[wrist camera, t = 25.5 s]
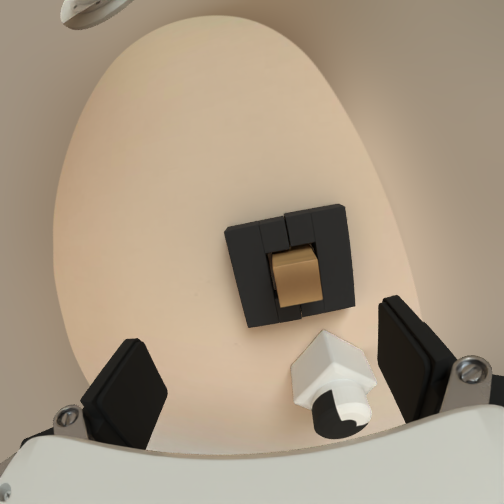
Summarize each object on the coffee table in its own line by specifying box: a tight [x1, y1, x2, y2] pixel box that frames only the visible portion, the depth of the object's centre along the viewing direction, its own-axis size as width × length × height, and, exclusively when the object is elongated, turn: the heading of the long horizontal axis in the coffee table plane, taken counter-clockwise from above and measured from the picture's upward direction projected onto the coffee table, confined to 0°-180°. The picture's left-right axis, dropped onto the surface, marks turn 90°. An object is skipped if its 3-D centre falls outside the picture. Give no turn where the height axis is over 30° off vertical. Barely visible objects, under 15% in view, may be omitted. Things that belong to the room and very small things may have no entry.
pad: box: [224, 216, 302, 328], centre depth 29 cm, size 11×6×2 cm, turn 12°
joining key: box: [272, 243, 323, 307], centre depth 27 cm, size 4×4×6 cm
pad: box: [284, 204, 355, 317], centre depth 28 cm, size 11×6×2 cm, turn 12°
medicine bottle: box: [291, 330, 377, 439], centre depth 27 cm, size 7×7×12 cm
